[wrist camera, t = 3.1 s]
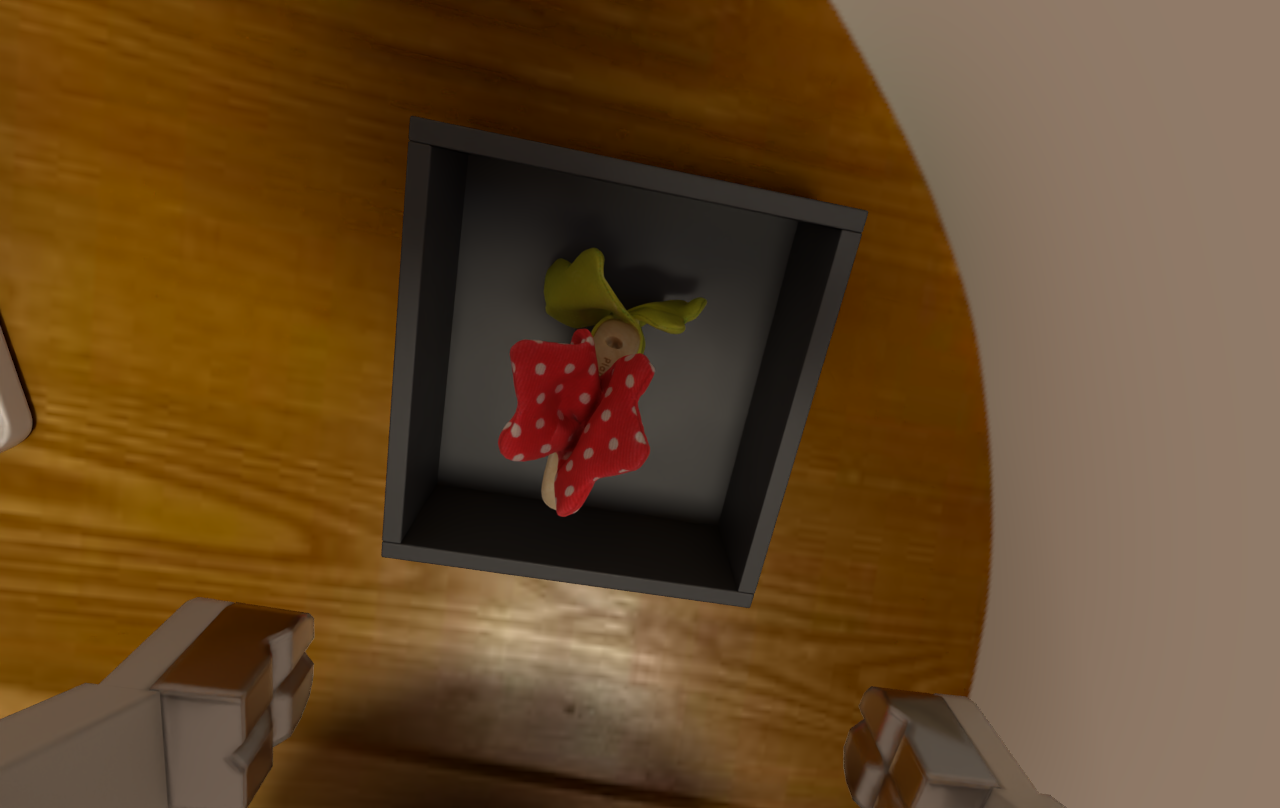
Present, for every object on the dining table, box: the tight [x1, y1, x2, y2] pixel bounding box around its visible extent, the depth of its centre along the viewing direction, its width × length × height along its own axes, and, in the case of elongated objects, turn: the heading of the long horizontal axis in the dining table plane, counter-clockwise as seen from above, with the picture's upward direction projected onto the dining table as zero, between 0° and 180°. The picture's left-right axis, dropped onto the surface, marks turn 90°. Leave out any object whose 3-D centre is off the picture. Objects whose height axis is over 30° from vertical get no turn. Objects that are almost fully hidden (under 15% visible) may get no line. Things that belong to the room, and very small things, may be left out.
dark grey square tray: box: [381, 116, 868, 608], centre depth 24 cm, size 15×14×5 cm
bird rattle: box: [498, 248, 707, 517], centre depth 22 cm, size 6×11×9 cm
